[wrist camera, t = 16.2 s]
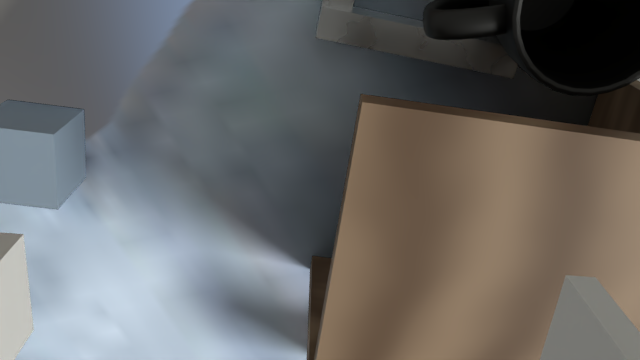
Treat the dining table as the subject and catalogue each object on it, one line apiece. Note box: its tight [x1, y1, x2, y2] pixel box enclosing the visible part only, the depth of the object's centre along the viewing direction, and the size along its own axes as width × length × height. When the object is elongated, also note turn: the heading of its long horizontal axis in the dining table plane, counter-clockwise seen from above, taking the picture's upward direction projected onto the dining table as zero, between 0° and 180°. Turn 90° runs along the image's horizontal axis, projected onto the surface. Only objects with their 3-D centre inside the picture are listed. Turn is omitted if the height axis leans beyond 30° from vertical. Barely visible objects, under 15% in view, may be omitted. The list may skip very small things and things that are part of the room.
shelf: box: [307, 80, 640, 360], centre depth 35 cm, size 18×18×15 cm
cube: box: [0, 100, 86, 210], centre depth 39 cm, size 5×5×5 cm
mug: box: [423, 0, 640, 96], centre depth 33 cm, size 8×12×10 cm
